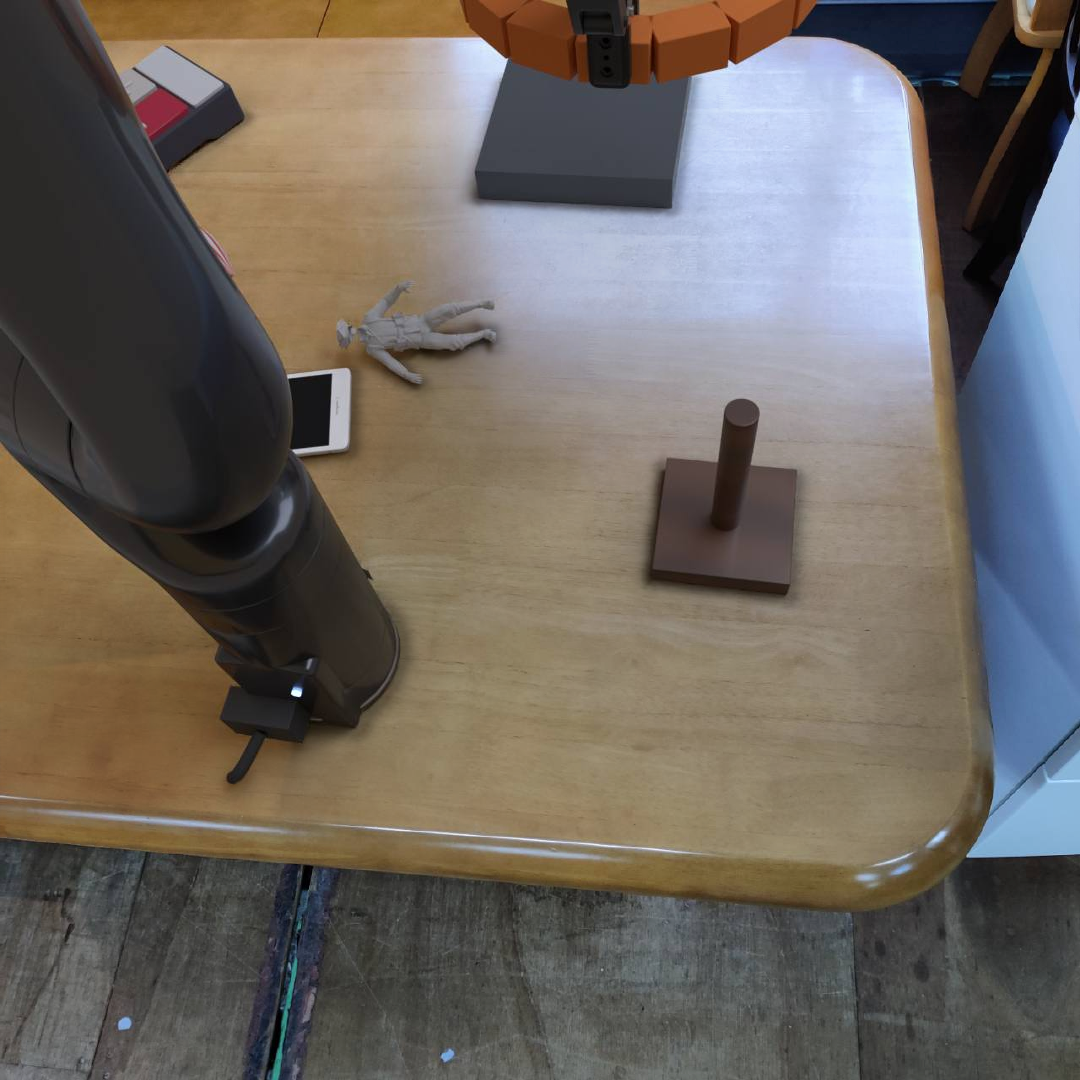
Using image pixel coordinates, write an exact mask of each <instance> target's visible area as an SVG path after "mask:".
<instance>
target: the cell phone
mask: <svg viewBox="0 0 1080 1080" xmlns="http://www.w3.org/2000/svg"><path fill="white" fill-rule="evenodd" d="M287 378H288V381H289V387H290V393H291V398H292V412H293V427H292V435H291V443H290V449H291V450H292V451H293V452H294V453H295V454H296V455H297V456H298V458H300V457H301V458H302V457H309V456H318V455H326V454H336V453H337V454H339V453H345V452H347V451H348V450H349V449H350V445H351V422H352V421H351V419H352V390H353V389H352V388H353V375H352V373H351V371H350V368H348V367H341V368H332V369H322V370H315V371H308V372H307V371H306V372H298V373H289V374H287Z"/></svg>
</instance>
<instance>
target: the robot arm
mask: <svg viewBox="0 0 1080 1080" xmlns="http://www.w3.org/2000/svg"><path fill="white" fill-rule="evenodd" d="M81 1H82V0H0V444H1V445H2V446H3V448H4V449H5V450H6V451H7V452H8V453H9V455H11V457H12V458H13V459H14V460H15V461H16V462H17V463H18V464H19V465H20V466H21V467H22V468H24V470H26V471H27V473H29V474H30V475H31V476H32V477H33V478H34V479H35V480H36V481H37V482H38V483H39V484H40V485H41V486H42V487H43V488H45V489H46V491H48V492H49V493H50V494H51V495H52V496H53V497H54V498H55V499H56V500H58V502H60V504H62V505H63V506H64V507H65V508H66V509H67V510H68V511H69V512H71V513H72V514H73V516H75V517H76V518H77V519H78V520H79V521H81V522H82V523H83V524H84V525H85V527H86V528H88V529H89V530H90V531H91V532H92V533H93V534H94V535H95V536H96V537H98V538H99V539H100V540H101V541H102V542H103V543H104V544H106V545H107V546H108V547H109V548H110V549H112V550H113V551H114V552H116V553H117V554H118V555H120V556H121V557H122V558H124V559H125V560H126V561H128V562H129V563H131V564H132V565H133V566H135V568H137V569H139V570H140V571H141V572H143V573H144V574H145V575H147V576H148V577H149V578H150V579H151V580H153V581H154V582H156V583H157V584H158V585H159V586H160V587H161V588H162V589H163V590H164V591H165V592H166V593H167V594H168V595H169V596H170V597H171V598H172V599H173V600H174V601H175V602H176V603H177V604H178V605H179V606H180V607H181V608H182V609H183V610H184V611H185V612H186V613H187V614H188V615H189V616H190V617H191V618H192V619H193V620H194V621H195V622H196V624H197V625H199V626H200V627H201V628H202V629H203V630H204V631H205V632H206V633H207V634H208V635H209V637H211V638H212V639H213V640H214V641H215V642H216V643H217V644H218V647H217V649H216V652H215V655H214V662H215V664H216V665H217V666H218V667H219V668H221V669H222V671H224V672H225V673H226V674H227V675H228V676H229V677H230V678H231V679H232V680H233V681H234V682H235V683H236V684H237V685H230V686H229V689H228V692H227V694H226V697H225V701H224V704H223V706H222V709H221V713H220V715H219V718H218V720H219V721H221V722H222V724H224V725H225V726H226V727H228V728H229V729H230V730H231V731H232V732H234V733H235V734H236V735H242V736H249V737H250V739H249V741H248V743H247V744H246V746H245V748H244V750H243V752H242V754H241V755H240V757H239V759H238V761H237V763H236V764H235V766H234V767H233V769H232V770H230V771H229V772H228V773H226V777H225V779H226V782H227V783H228V784H229V785H236V784H237V783H239V782H240V781H242V780H243V779H244V778H245V776H246V775H247V774H248V772H249V770H250V769H251V767H252V765H253V764H254V762H255V760H256V758H257V756H258V754H259V752H260V751H261V748H262V746H263V745H264V743H265V740H266V739H268V740H275V741H281V742H288V743H294V744H301V745H303V744H304V742H305V739H306V736H307V732H308V729H309V725H310V723H315V724H329V725H337V726H343V727H350V728H355V727H357V726H358V725H359V723H360V719H361V716H362V714H363V712H364V711H365V710H366V709H368V708H369V707H370V706H372V705H373V704H374V703H375V702H376V701H377V700H378V699H379V698H380V697H381V696H382V695H383V694H384V692H385V691H386V690H387V689H388V687H389V686H390V684H391V683H392V680H393V679H394V677H395V674H396V672H397V670H398V666H399V662H400V656H401V639H400V638H401V637H400V633H399V631H398V628H397V625H396V622H395V621H394V619H393V617H392V615H391V614H390V612H389V611H388V609H387V608H386V607H385V605H383V603H382V601H381V599H380V597H379V595H378V594H377V592H376V590H375V588H374V587H373V585H372V583H371V581H372V582H373V581H374V578H373V576H372V575H371V573H370V571H369V569H368V570H367V569H365V568H363V566H362V565H361V564H360V562H359V560H358V558H357V557H356V554H355V553H354V551H353V549H352V548H351V546H350V544H349V542H348V541H347V538H346V537H345V535H344V534H343V532H342V530H341V527H340V526H339V524H338V523H337V521H336V519H335V517H334V516H333V514H332V511H331V510H330V508H329V506H328V504H327V503H326V501H325V499H324V497H323V496H322V494H321V492H320V490H319V489H318V486H317V484H316V483H315V481H314V479H313V478H312V476H311V474H310V472H309V471H308V469H307V467H306V465H305V464H304V463H303V462H302V460H301V458H300V457H298V456H297V455H296V454H295V453H294V452H293V451H292V450H291V449H290V443H291V435H292V427H293V412H292V398H291V393H290V387H289V381H288V378H287V375H288V374H287V371H286V369H285V366H284V363H283V361H282V359H281V356H280V353H279V351H278V349H277V347H276V346H275V344H274V342H273V340H272V338H270V335H269V333H268V332H267V330H266V328H265V327H264V325H263V323H261V321H260V320H259V318H258V316H257V314H256V313H255V311H254V310H253V309H252V307H251V306H250V304H249V302H248V301H247V300H246V298H245V297H244V295H243V294H242V292H241V290H240V289H239V287H238V286H237V284H236V282H235V281H234V280H233V279H234V278H233V277H232V278H231V276H230V275H229V273H228V272H227V270H226V268H225V267H224V265H223V264H222V262H221V261H220V259H219V258H218V256H217V254H216V253H215V251H214V250H213V248H212V247H211V245H210V244H209V242H208V240H207V239H206V237H205V236H204V234H203V233H202V231H201V230H200V228H199V227H200V225H198V223H197V221H196V219H195V218H194V216H193V214H192V213H191V211H190V210H189V208H188V206H187V205H186V203H185V202H184V200H183V199H182V196H181V194H180V193H179V191H178V189H177V188H176V185H175V184H174V182H173V181H172V179H171V177H170V175H169V174H168V172H167V171H166V170H165V168H164V166H163V164H162V162H161V160H160V158H159V156H158V154H157V152H156V150H155V149H154V147H153V145H152V143H151V141H150V139H149V137H148V134H147V132H146V130H145V128H144V126H143V124H142V122H141V120H140V118H139V116H138V114H137V112H136V110H135V108H134V105H133V103H132V101H131V99H130V97H129V95H128V93H127V91H126V89H125V87H124V85H123V83H122V81H121V79H120V77H119V73H118V72H117V70H116V68H115V66H114V64H113V61H112V60H111V58H110V56H109V54H108V52H107V50H106V48H105V46H104V44H103V41H102V39H101V38H100V36H99V34H98V32H97V31H96V28H95V27H94V24H93V23H92V20H91V18H90V17H89V15H88V13H87V11H86V9H85V7H84V5H83V3H82V2H81ZM565 3H566V8H568V12H569V16H570V20H571V25H572V28H573V32H574V35H585V34H586V40H587V56H588V72H589V82H590V84H591V85H592V86H594V87H596V88H612V89H624V88H626V87H627V86H628V85H629V84H630V80H631V75H632V59H631V17H633V16H634V15H640V0H565Z"/></svg>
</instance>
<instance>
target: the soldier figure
mask: <svg viewBox="0 0 1080 1080" xmlns="http://www.w3.org/2000/svg"><path fill="white" fill-rule="evenodd" d="M414 284H415V282H414V280H404V281H402V282H400V283H399V284H397V285H395V286H394V287H393V288H392V289H391V290H389V291H388V292H387V293H386V294H385V295H383V297H381V299H380V300H379V301H378V302H377V303H376V304H375V305H374V306H373V307H371V308H370V309H369V310H368V311H367V312H366V313H364V315H363V318H362V324H361V325H360V326H358V328H356V327H357V326H354V327H353V324H347V323H346V322H345V319H344V318H341V319H340V320H339V321H338V322H337V324H336V328H335V329H336V331H335V332H336V334H335V337H336V340H337V342H338V346H339V348H340V349H345V350H347V349H348V347H349V346H350V345H351V344H353V343H354V340H355V335H356V333H357V340H358V342H360V343H362V344H364V348H365V350H366V353H367V354H368V355H370V356H371V357H373V358H374V359H376V360H377V361H379V363H380V364H382V365H384V366H386V367H387V368H388V369H389V370H390V371H391V372H393V373H395V374H396V375H397V376H400V377H401V378H403V379H404V380H408V381H409V382H411V383H414V384H419V385H421V384H423V383H422V382H423V378H422V374H418V373H412V372H410V371H409V369H407V368H406V367H405V366H404V365H402V363H401V362H400V361H399V360H397V359H396V358H395V357H393V356H392V355H391V354H390V353H389V352H388V351H387V350H388V349H389V350H390V349H392V350H393V352H403V353H404V351H405V350H409V349H414V350H420V349H426V350H436V351H437V350H438V351H442V350H445V349H447V350H451V351H456V350H458V349H459V350H463V349H465V347H466V346H468V345H470V344H472V343H474V342H478V341H480V340H482V339H485V340H488V341H490V342H492V343H495V342H496V339H497V333H496V331H492V329H491V328H484V329H483V330H481V329H480V330H478V331H476V332H469V333H462V334H461V333H457V334H456V333H453V334H449V333H442V332H438V331H435V330H436V329H437V327H439V326H441V325H443V324H445V323H446V322H448V321H449V320H454V319H455V318H457V316H460V315H462V314H465V313H469V312H472V311H473V310H475V309H484V310H489V311H494V310H495V300H494V299H481V300H466V301H465V300H463V301H451V302H450V303H441V304H440V305H438V306H436V307H435V308H433V309H431V310H429V311H428V312H426V313H423V314H421V315H419V316H418V314H411V315H403V312H394V313H391V317H386V316H385V317H384V315H385V314H386V313H387V311H388V310H389V308H391V307H392V306H394V305H395V304H396V302H397V301H398V299H399V298H400V296H401V294H402V293H403V292H404V293H406V294H411V291H410V290H407V289H408V288H413V286H414Z"/></svg>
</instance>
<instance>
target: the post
mask: <svg viewBox="0 0 1080 1080" xmlns="http://www.w3.org/2000/svg"><path fill="white" fill-rule="evenodd" d="M760 416H761V411H760V408H759V406H758V405H757V404H756V403H755V402H754V401H753V400H751V399H747V398H742V397H741V398H735V399H732V400H731V401H729V402H728V403H727V404H726V405H725V407H724V410H723V416H722V417H723V418H722V425H721V434H720V442H719V449H718V450H719V451H718V458H717V461H709V460H708V461H707V460H699V459H687V458H676V457H666V461H665V468H664V476H663V484H662V490H661V491H662V492H661V497H660V498H661V499H660V505H659V506H660V507H659V514H658V522H657V528H656V536H655V543H654V551H653V557H652V566H651V579H652V580H658V581H667V582H676V583H684V584H686V583H687V584H693V585H702V586H712V587H721V588H729V589H737V590H746V591H747V590H748V591H755V592H765V593H773V594H781V595H788V593H789V590H790V587H791V582H792V581H791V580H792V579H791V578H792V563H793V561H792V560H793V544H794V529H795V509H796V491H797V476H798V475H797V474H798V473H797V472H798V471H797V469H795V468H794V469H793V468H783V467H773V466H764V465H763V466H762V465H752V461H753V455H754V450H755V449H754V448H755V443H756V437H757V432H758V427H759V421H760Z"/></svg>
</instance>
